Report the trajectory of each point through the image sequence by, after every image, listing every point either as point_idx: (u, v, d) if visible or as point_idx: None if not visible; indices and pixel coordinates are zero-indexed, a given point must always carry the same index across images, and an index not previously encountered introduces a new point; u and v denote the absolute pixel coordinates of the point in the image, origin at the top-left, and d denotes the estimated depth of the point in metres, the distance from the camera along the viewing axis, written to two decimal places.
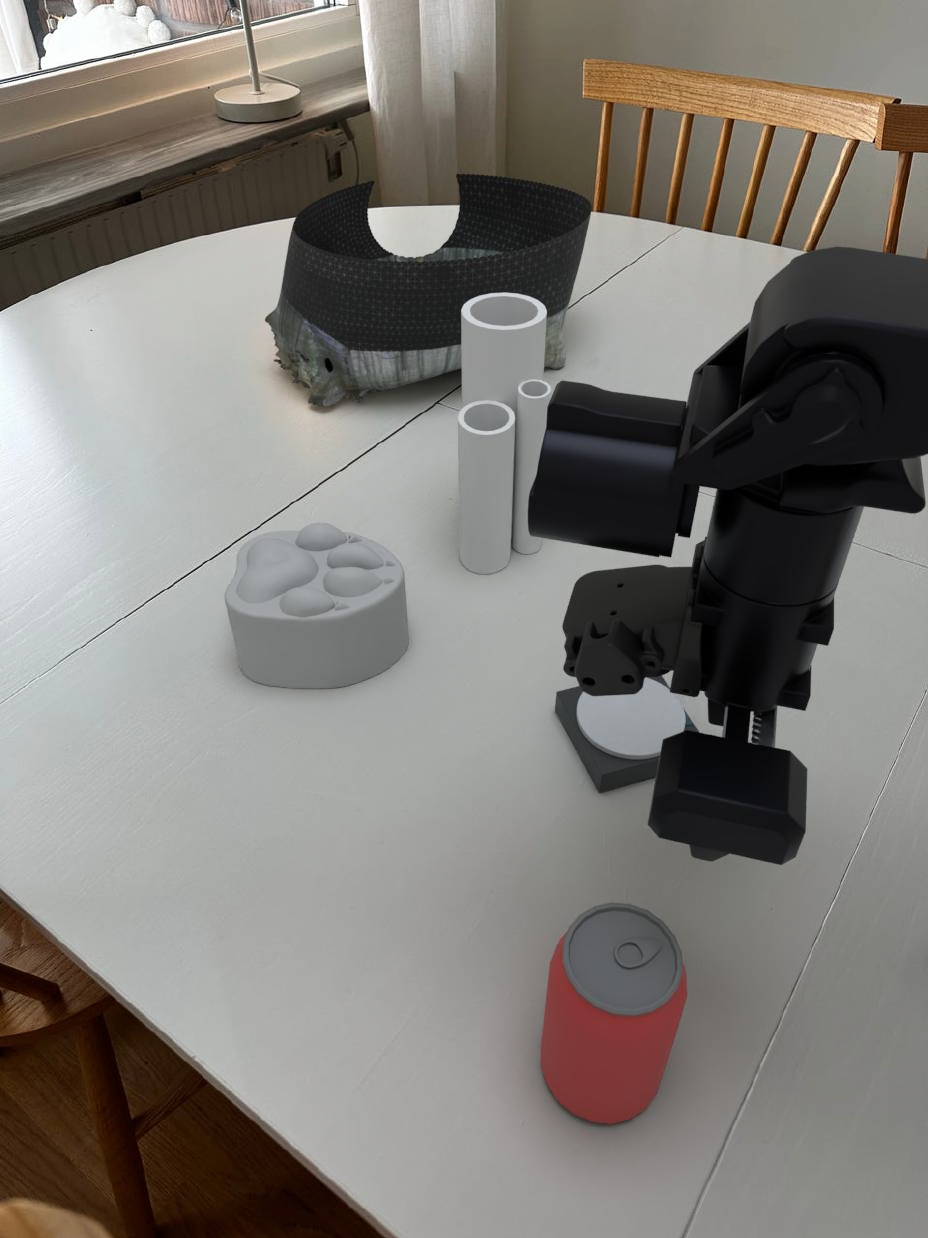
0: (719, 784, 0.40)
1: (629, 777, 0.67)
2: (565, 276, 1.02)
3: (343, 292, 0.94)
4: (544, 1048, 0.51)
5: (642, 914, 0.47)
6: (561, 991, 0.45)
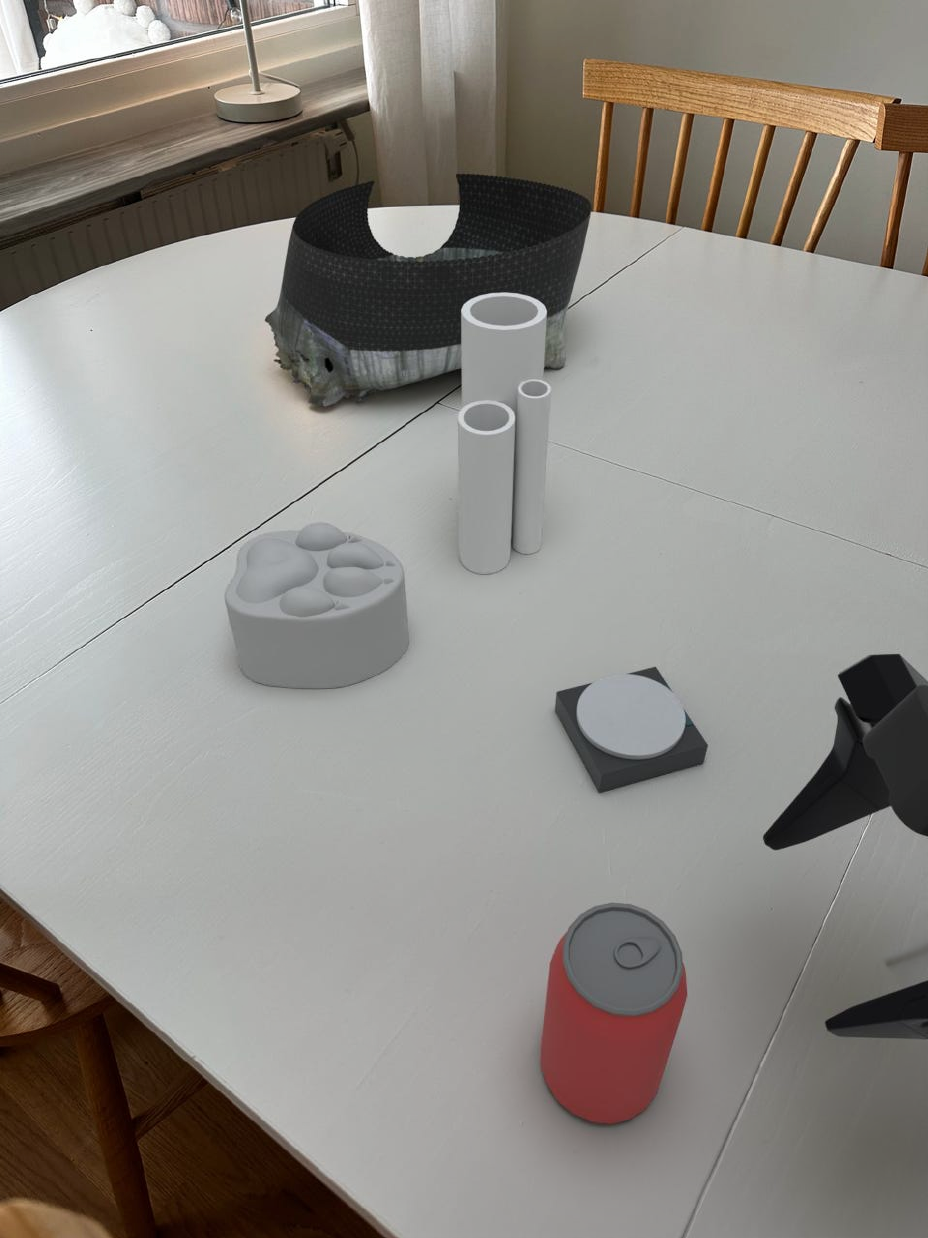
0: None
1: (629, 777, 0.67)
2: (565, 276, 1.02)
3: (343, 291, 0.94)
4: (544, 1048, 0.51)
5: (642, 914, 0.47)
6: (561, 991, 0.45)
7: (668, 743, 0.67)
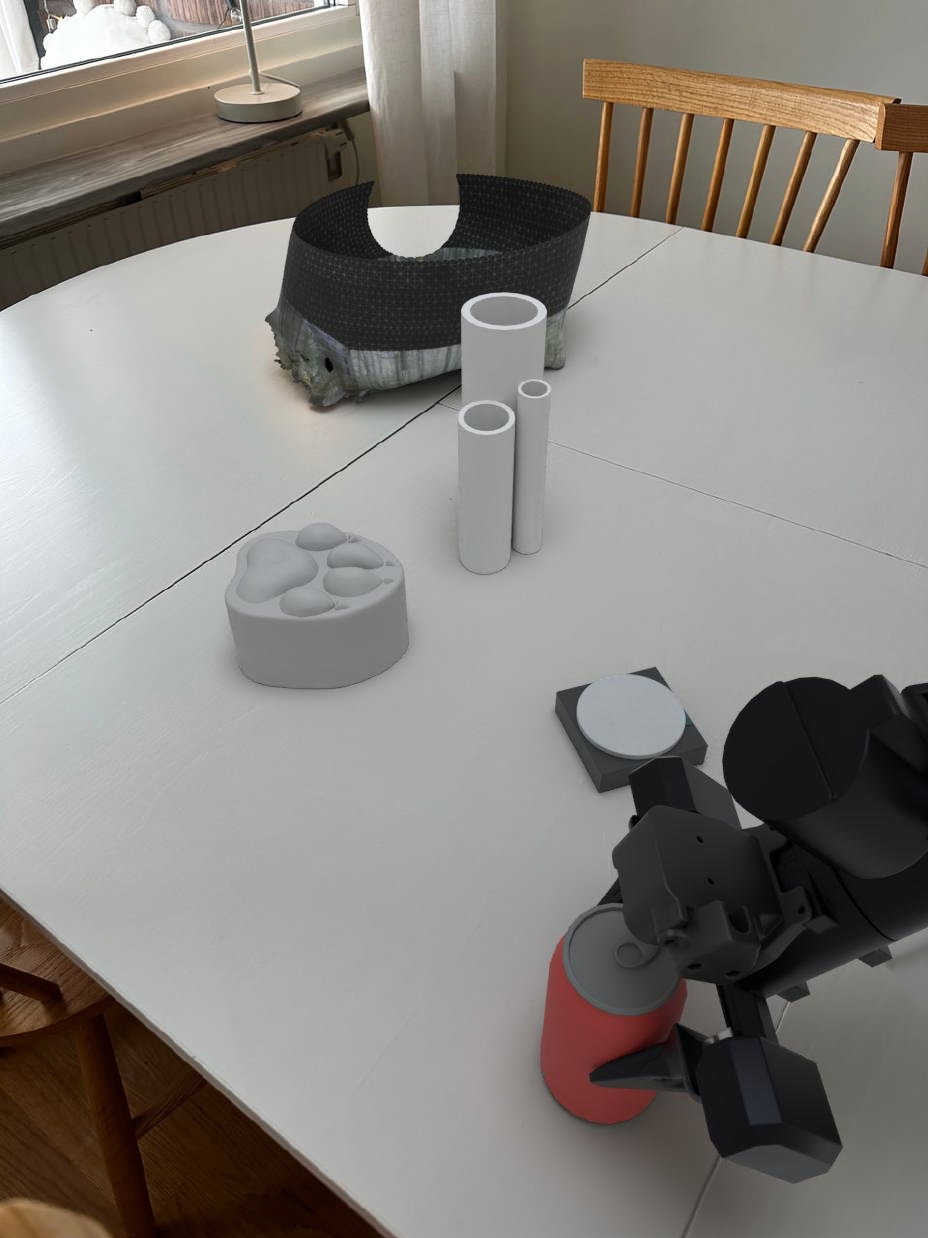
0: (800, 1112, 0.38)
1: None
2: (565, 276, 1.02)
3: (343, 291, 0.94)
4: (544, 1048, 0.51)
5: None
6: (561, 991, 0.45)
7: (668, 743, 0.67)
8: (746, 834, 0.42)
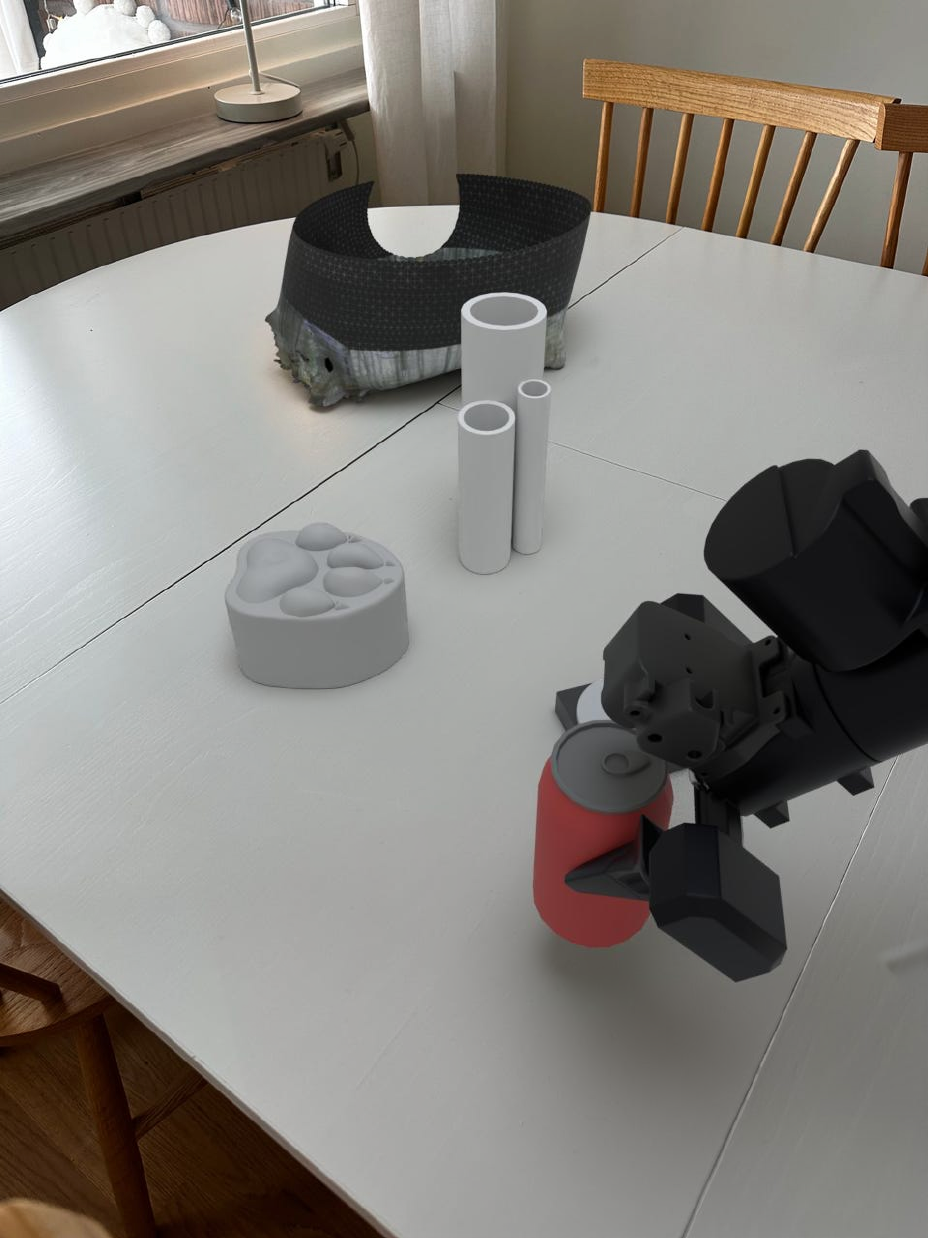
0: (744, 900, 0.38)
1: None
2: (565, 276, 1.02)
3: (343, 291, 0.94)
4: (534, 864, 0.52)
5: None
6: (545, 788, 0.47)
7: None
8: (740, 646, 0.43)
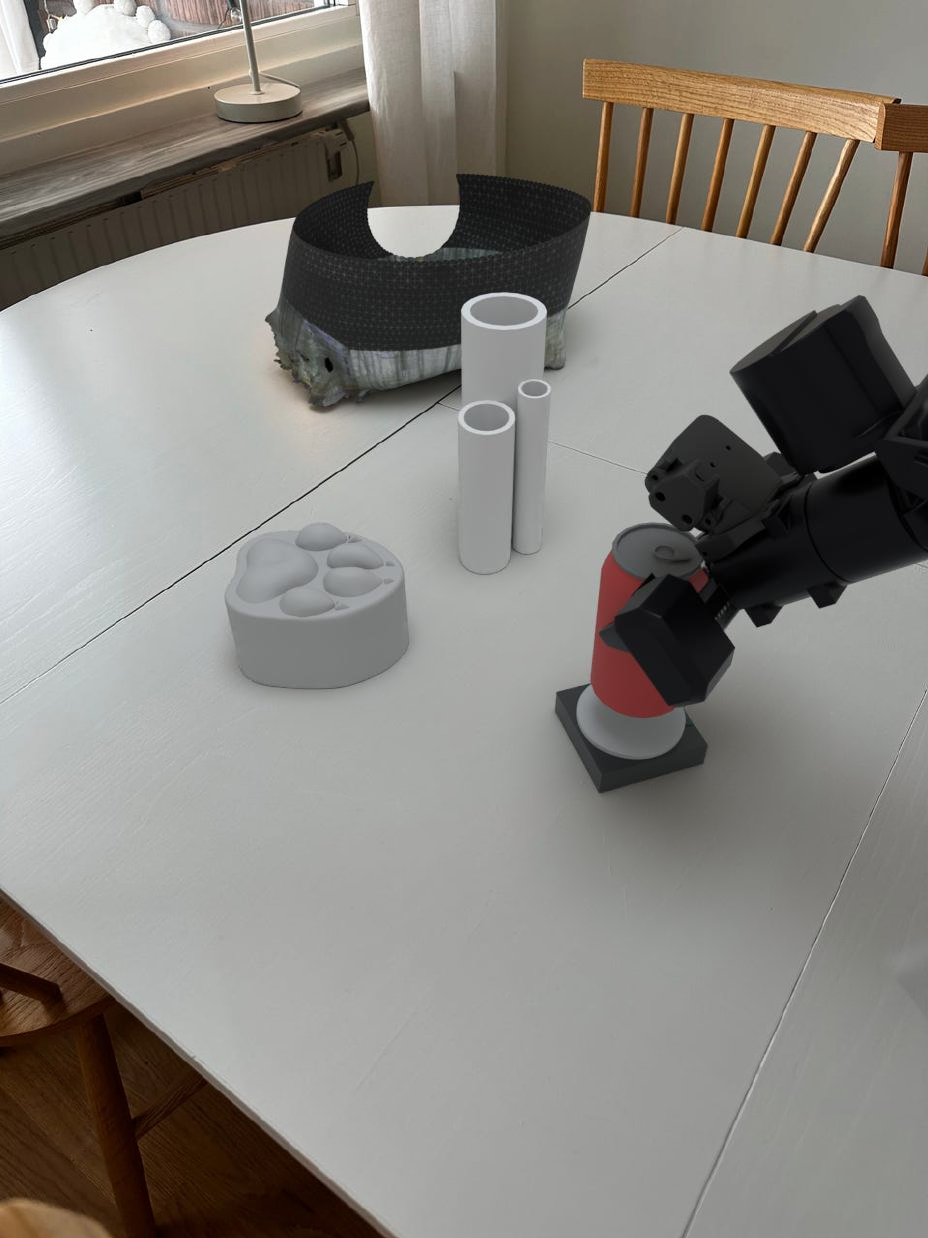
0: (685, 634, 0.50)
1: (629, 777, 0.67)
2: (565, 276, 1.02)
3: (342, 291, 0.94)
4: None
5: (693, 540, 0.59)
6: None
7: (668, 743, 0.67)
8: (773, 472, 0.53)
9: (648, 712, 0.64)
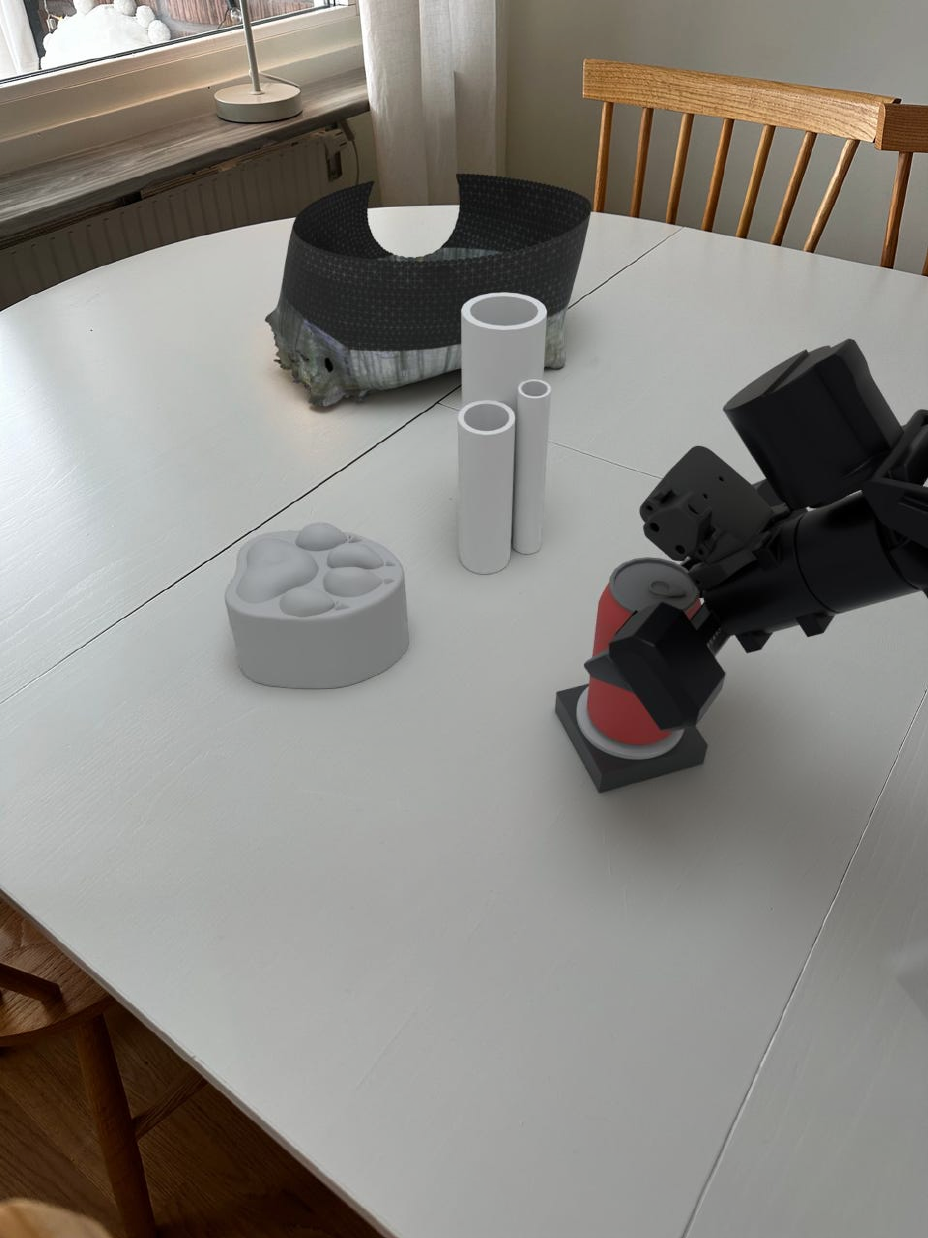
0: (677, 661, 0.51)
1: (629, 777, 0.67)
2: (565, 276, 1.02)
3: (342, 291, 0.94)
4: None
5: None
6: (604, 590, 0.62)
7: (668, 743, 0.67)
8: (765, 502, 0.55)
9: (643, 739, 0.65)
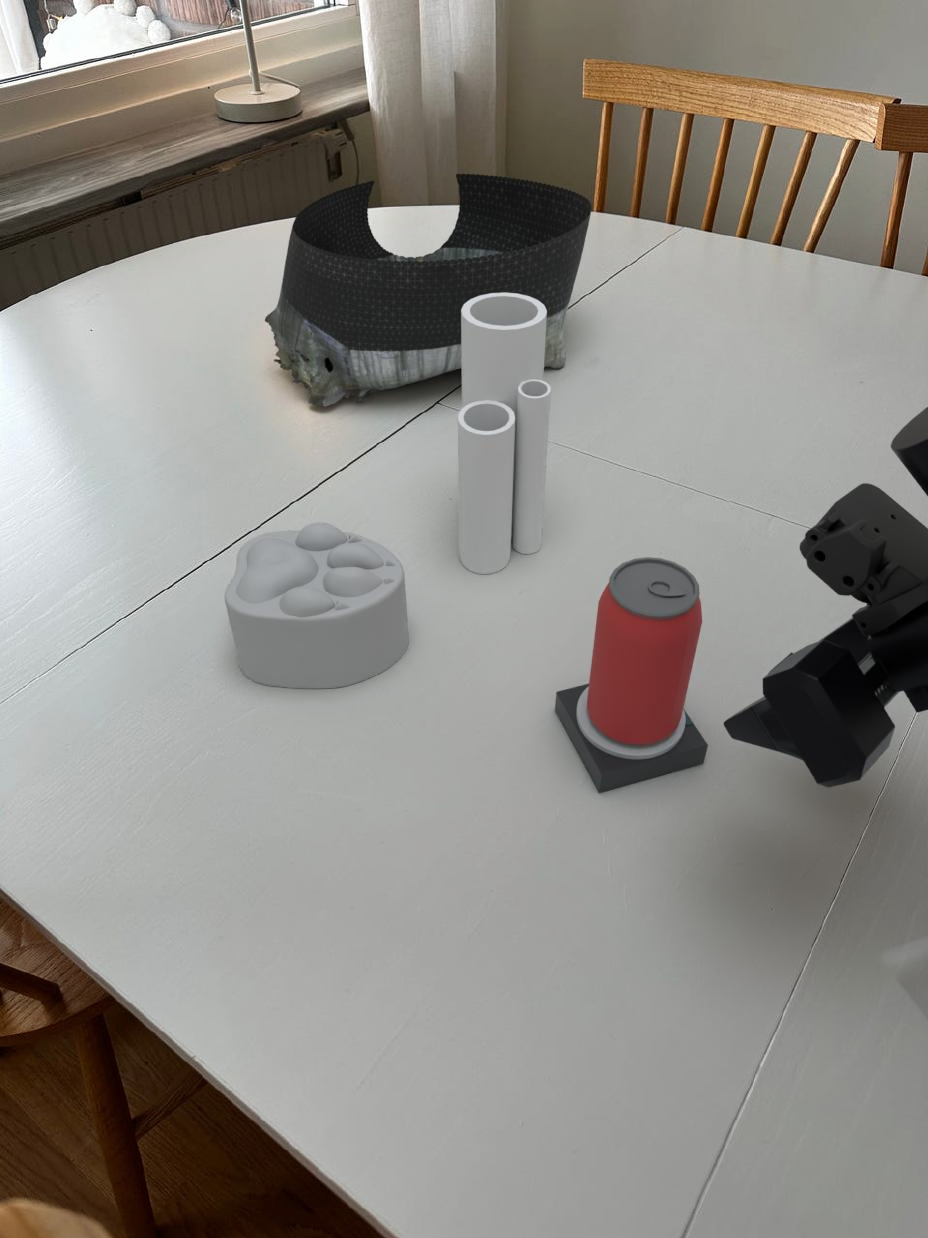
0: (842, 701, 0.46)
1: (629, 777, 0.67)
2: (565, 276, 1.02)
3: (343, 291, 0.94)
4: None
5: (688, 575, 0.61)
6: (604, 590, 0.62)
7: (668, 743, 0.67)
8: None
9: (643, 739, 0.65)
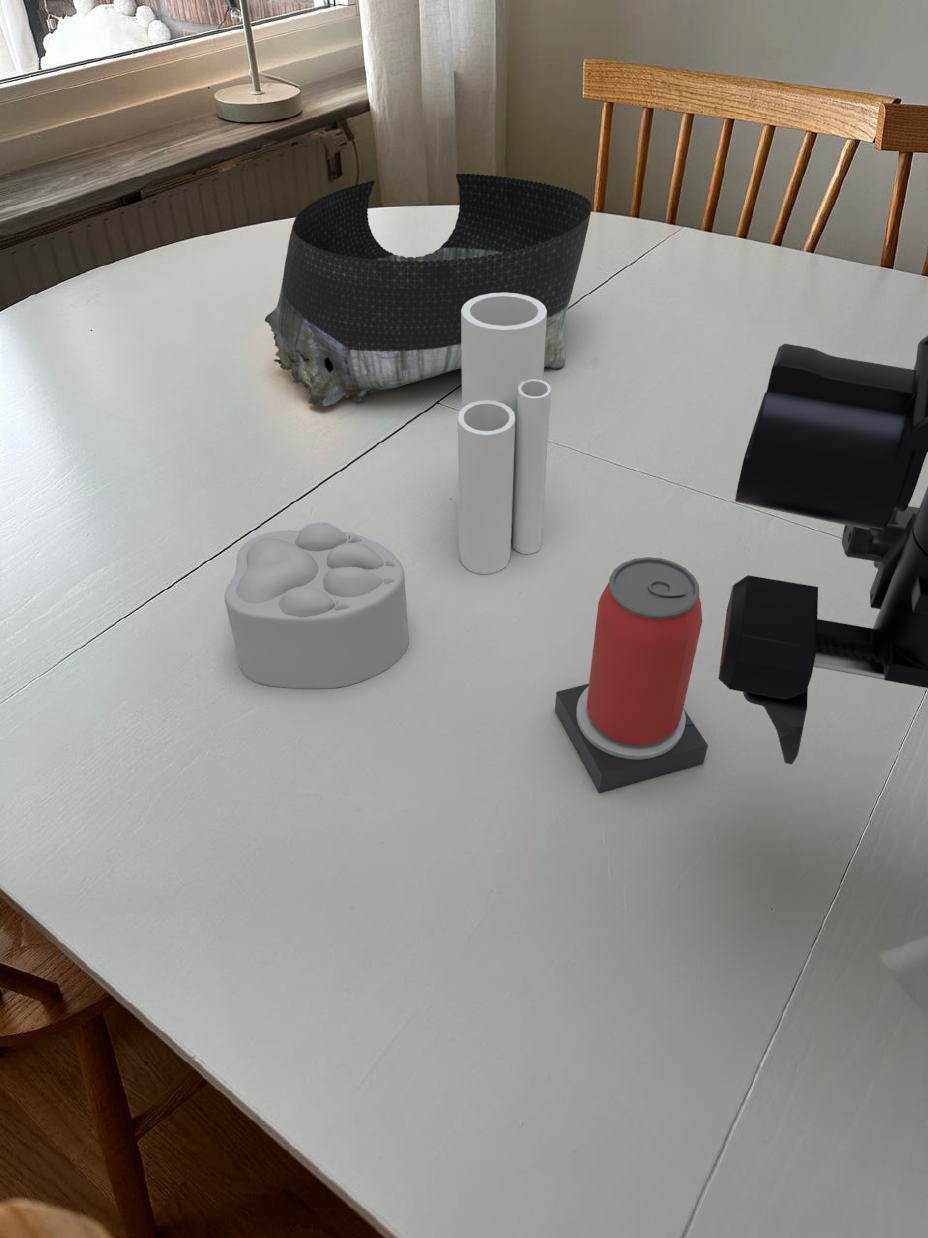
0: (761, 599, 0.47)
1: (629, 777, 0.67)
2: (565, 276, 1.02)
3: (343, 291, 0.94)
4: None
5: (688, 575, 0.61)
6: (604, 590, 0.62)
7: (668, 743, 0.67)
8: None
9: (643, 739, 0.65)
